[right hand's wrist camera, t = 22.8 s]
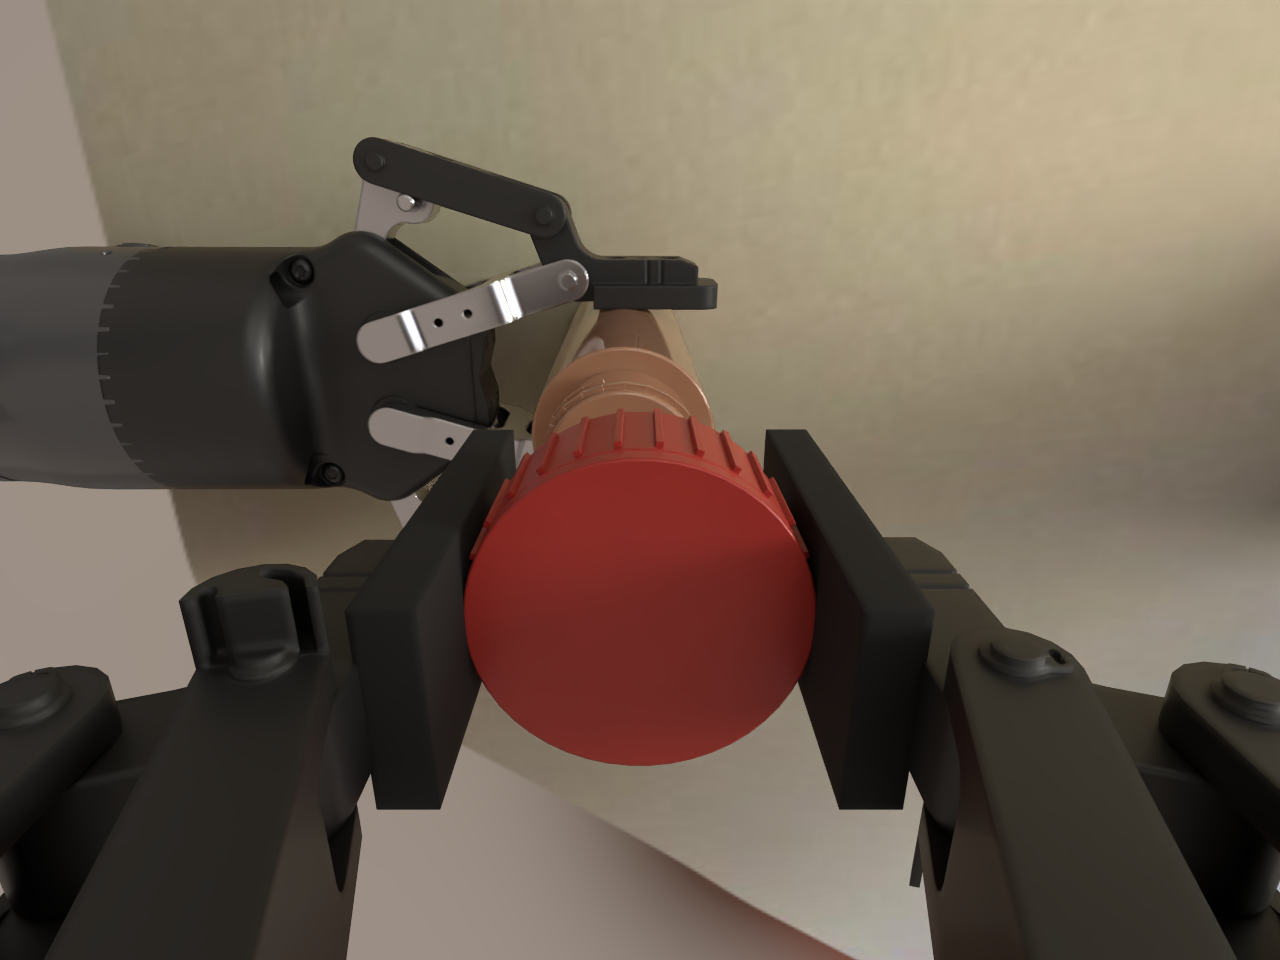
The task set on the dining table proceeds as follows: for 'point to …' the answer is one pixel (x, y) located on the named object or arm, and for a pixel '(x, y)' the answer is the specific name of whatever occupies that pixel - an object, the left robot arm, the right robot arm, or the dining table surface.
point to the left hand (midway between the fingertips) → (708, 370)
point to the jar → (619, 371)
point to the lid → (639, 591)
